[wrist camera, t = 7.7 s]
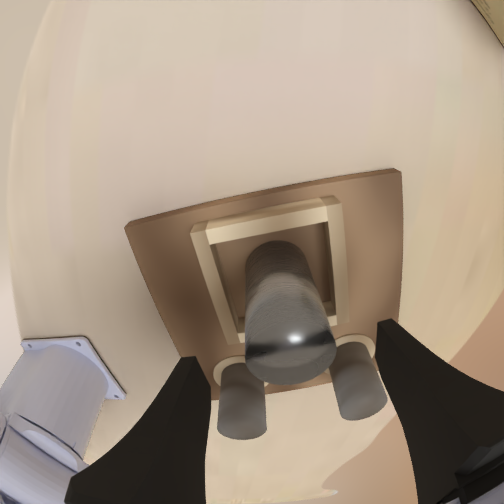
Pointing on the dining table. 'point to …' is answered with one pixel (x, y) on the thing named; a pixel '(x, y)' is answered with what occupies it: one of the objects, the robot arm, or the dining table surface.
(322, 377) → the pin board
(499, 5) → the skincare box
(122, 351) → the dining table surface
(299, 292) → the metal pin
